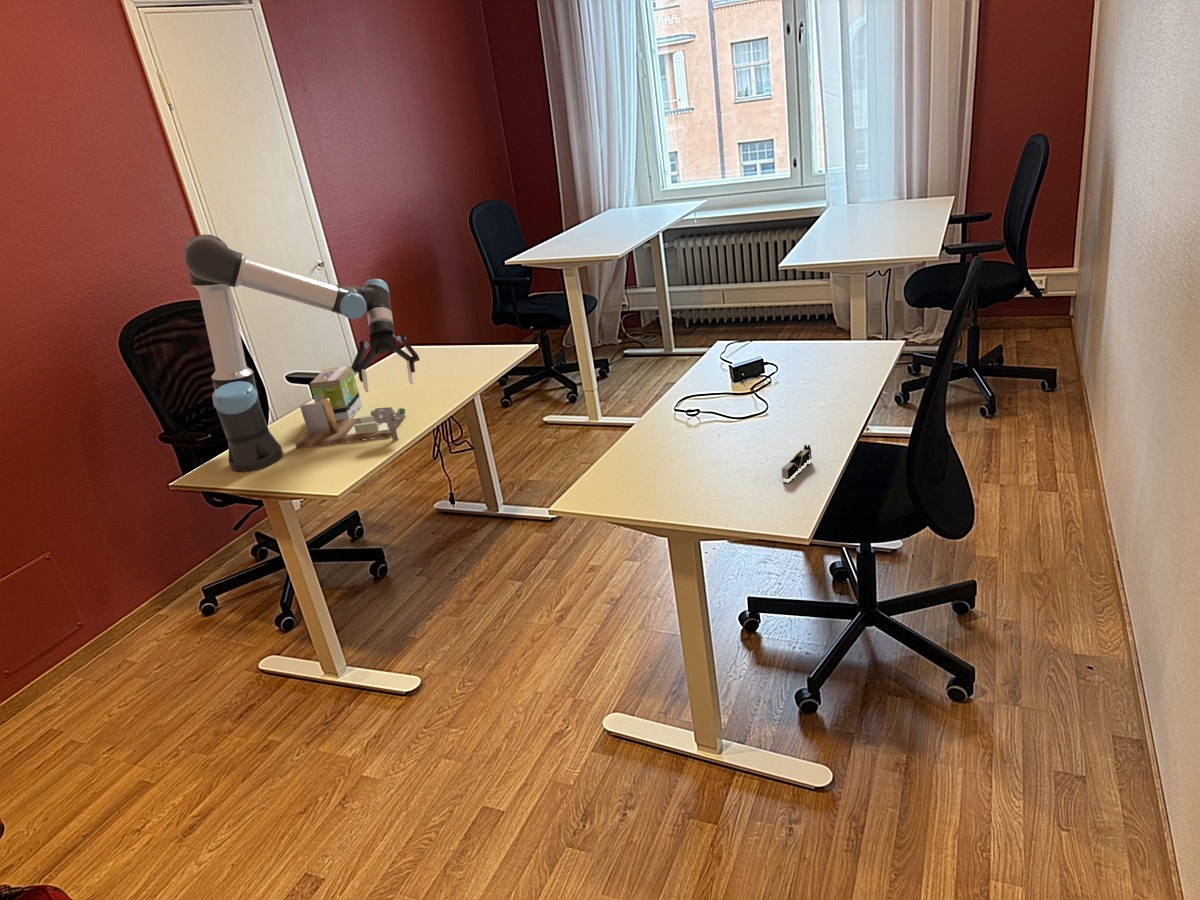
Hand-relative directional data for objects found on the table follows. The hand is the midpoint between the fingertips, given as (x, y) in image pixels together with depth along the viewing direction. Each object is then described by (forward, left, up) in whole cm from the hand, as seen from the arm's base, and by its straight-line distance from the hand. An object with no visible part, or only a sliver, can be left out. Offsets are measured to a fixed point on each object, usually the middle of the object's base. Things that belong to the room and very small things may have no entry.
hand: (388, 386), depth 243 cm
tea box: (-25, +18, -14) cm, 34 cm away
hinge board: (-16, +1, -14) cm, 21 cm away
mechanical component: (+1, -10, -14) cm, 17 cm away
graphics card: (+110, -60, -14) cm, 126 cm away
